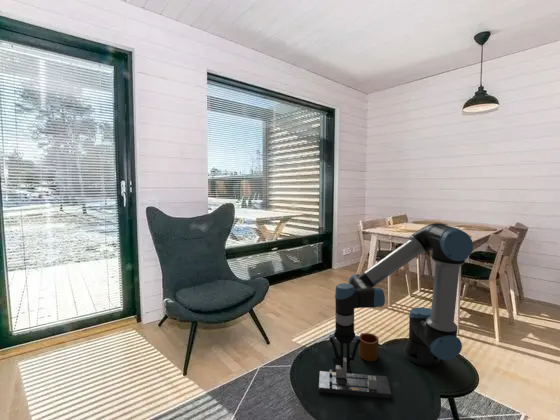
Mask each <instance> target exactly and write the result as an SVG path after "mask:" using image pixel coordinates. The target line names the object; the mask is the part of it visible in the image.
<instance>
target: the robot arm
mask: <svg viewBox="0 0 560 420" xmlns="http://www.w3.org/2000/svg"><path fill="white" fill-rule="evenodd" d="M473 250H474V242H473V239H472V238H471V236H470V235H469V234H468V233H466V232H465V231H463V230H462V229H460V228H457V227H453V226H450V225H446V224H445V223H439V222H437V223H436V222H434V223H430V224H427V225H426V226H424V227H422V228H420V229H418V230H417V231H415V232H414V233H412V234H410V236H409V239H408V240H406V241H405V242H404V243H402V244H401V245H399V246H398V247H397V248H396V249H394V250H392V251H391V252H390V253H389V254H387V255H386V256H384V257H383V258H382V259H380V260H378V261H377V262H376V263H375V264H373V265H371V266H370V267H369V268H367V269H365V271H363V272H362V273H361V274H359V273H355V274H352V275H351V277H350V278H349V279H348V283H345V282H344V283H343V282H342V283H341V282H340V283H338V284H337V285H336V286H335V295H334V298H335V304H334V305H335V314H334V315H335V319H334V320H335V331H334V332H333V333H334V334H329V336H328V337H329V341H330V343H331V346H332V349H333V352H334V358H336V359H339V360H340V367H342V368H343V376H347V368H349V367H350V368H351V365H350V364H351V363H350V362H351V361H354V360H355V358H356V353H357V350H358V348H359V343H360V342H361V340H360V337H359V336H360V335H358V336H357V335H356V333H355V309H367V308H370V309H371V308H373V309H374V308H381V307H383V306H384V305H385V303H386V298H385V293H384V290H383V289H382V288H380V287H375V286H377V285H378V284H380V283H381V282H383V281H384V280H385V279H387V278H388V277H390V276H391V275H392V274H394V273H395V272H396V271H398V270H400V269H401V268H402V267H404V266H405V265H406V264H408V263H410V262H411V261H412V260H414V259H415V258H416V257H418V256H419V255H421V254H423V255H424V254H426V253H428V252H430V251H432V254H431V259H432V261H433V262H434V263H435V265H434V274H433V275H434V277H433V286H432V287H433V288H432V295H431V296H432V297H431V307H430V308H428V307H414V308H412V309H410V311H409V316H408V318H409V319H408V321H409V322H408V323H409V325H408V329H409V330H408V340H407V342H406V344H405V346H404V352H403V353H404V356H405V358H406V359H407V360H409V361H410V362H412V363H413V364H416V365H419V366H423V367H435V366H437V365H438V364H440V361H441V360H443V361H449V360H452V359H454V358H455V357H457V356H459V354H460V353H461V352H462V349H463V343H462V341H461V340H460V338H459V337H458V335H457V334H458V325H457V324H456V322H455V316H456V315H455V314H456V306H457V305H456V304H457V294H458V285H459V276H460V267H461V266H462V265H464V264H465V261H466V260H467V259H468V258H469V256H471V255H472V253H473ZM336 340H337V341H338V343H339V351H338V347H337V343H336ZM353 341H354V342H353ZM352 342H353V344H352V345H353V346H352V349H351V350H350V348H351V345H350V344H351V343H352ZM344 344H345V353H346V355H345V357H344ZM350 351H351V352H350ZM350 353H351V354H350Z"/></svg>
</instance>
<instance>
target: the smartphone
mask: <svg viewBox="0 0 560 420" xmlns="http://www.w3.org/2000/svg"><path fill="white" fill-rule="evenodd" d="M332 363H333V369H334V372H336V365H340V360H339V359H336V357H333V358H332ZM347 373H350V374H353V373H352V369H351V366H350V367H349V368H347Z"/></svg>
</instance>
